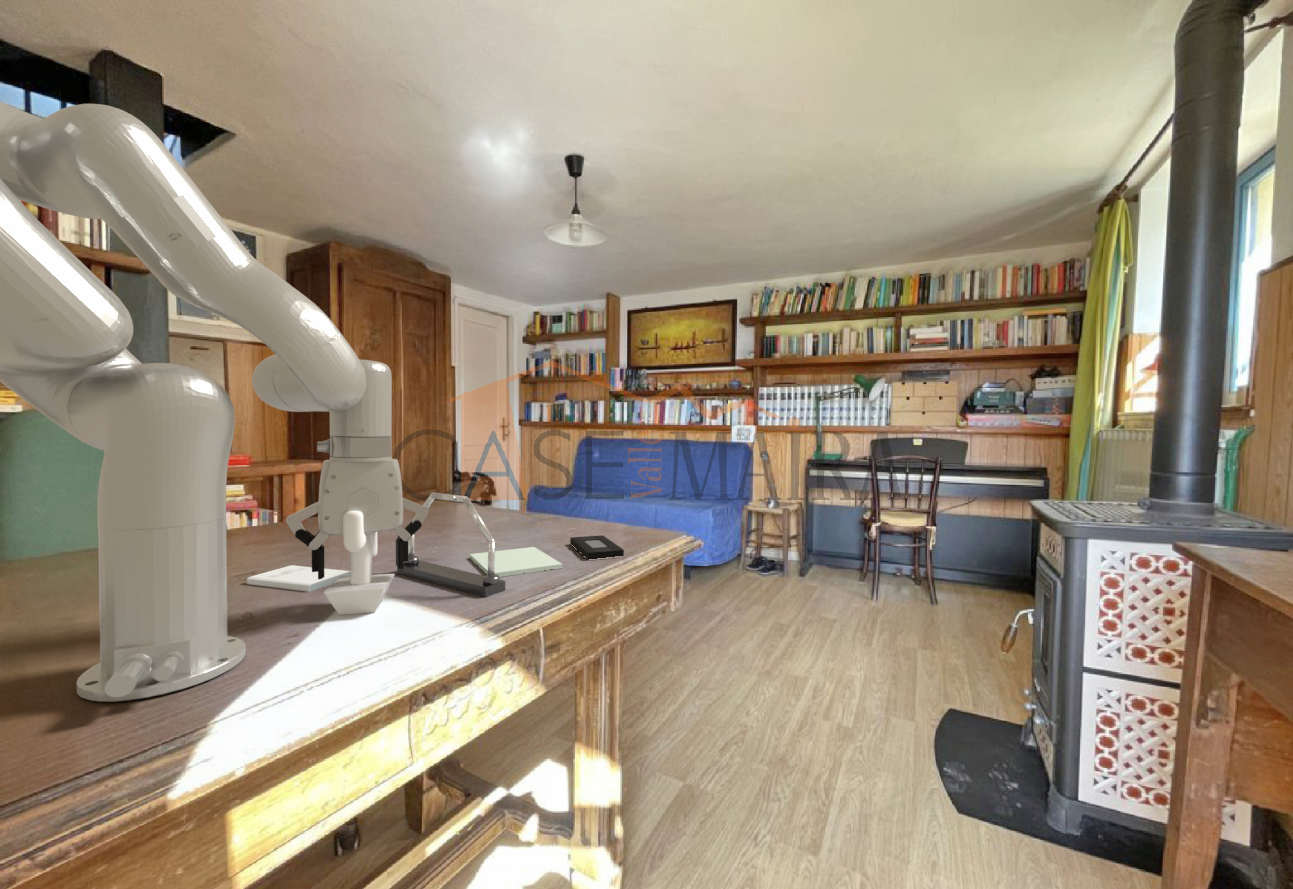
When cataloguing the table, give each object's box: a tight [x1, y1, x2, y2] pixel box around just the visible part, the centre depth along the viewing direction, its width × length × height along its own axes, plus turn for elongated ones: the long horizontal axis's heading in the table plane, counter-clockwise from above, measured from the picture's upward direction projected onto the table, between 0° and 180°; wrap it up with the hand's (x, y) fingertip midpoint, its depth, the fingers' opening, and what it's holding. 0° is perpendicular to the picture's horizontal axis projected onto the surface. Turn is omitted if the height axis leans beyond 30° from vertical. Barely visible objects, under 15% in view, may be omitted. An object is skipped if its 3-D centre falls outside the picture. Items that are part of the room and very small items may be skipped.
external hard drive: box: [246, 564, 350, 593], centre depth 83 cm, size 2×8×12 cm
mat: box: [469, 546, 563, 578], centre depth 96 cm, size 15×13×1 cm
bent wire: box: [396, 492, 506, 598], centre depth 84 cm, size 22×4×14 cm, turn 59°
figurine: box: [323, 511, 395, 616], centre depth 71 cm, size 7×9×15 cm
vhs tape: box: [569, 534, 625, 561], centre depth 107 cm, size 8×14×2 cm, turn 22°
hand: (361, 571), depth 71 cm, fingers open, 9 cm apart
